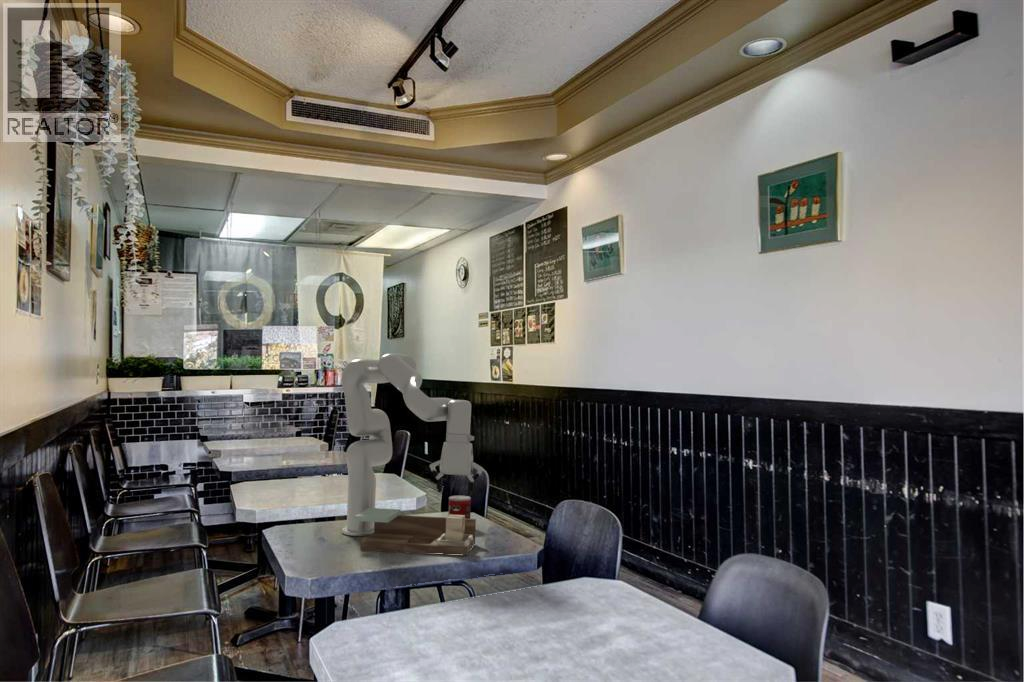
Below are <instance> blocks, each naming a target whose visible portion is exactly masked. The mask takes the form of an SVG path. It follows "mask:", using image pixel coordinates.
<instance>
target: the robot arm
mask: <svg viewBox="0 0 1024 682" xmlns="http://www.w3.org/2000/svg"><path fill="white" fill-rule="evenodd" d="M416 369H417V363H416V361H415V359H414V358H413V357H412V356H411V355H408V354H405V353H403V354H402V353H386V354H384V355H382V356H381V357H380V358H378V359H371V358H369V359H368V358H360V359H359V358H358V359H353V360H351V361H350V362H348V363H347V364H346V365H345V367H344V369H343V370H342V374H341V386H342V390H343V394H344V399H345V410H346V411H345V413H346V421H347V422H346V423H347V429H348V432H349V434H351V436H354V437H369V439H363V440H357V441H354V442H353V443H350V444H349V446H348V447H347V449H346V453H345V459H346V464H347V507H346V509H347V510H346V526H344V527H342V528H341V533H342V534H344V535H346V536H352V537H353V536H354V537H362V536H363V537H365V536H369V535H371V534H372V533H374V522H367V521H354V519H355V515H357V514H359V513H361V512H363V511H364V510H366V509H368V508H376V497H377V495H376V494H377V489H376V488H377V478H376V474H375V471H374V469H373V467H377V466H383V465H386V464H388V463H389V462H390V461H391V460H392V456H393V441H392V440H393V439H392V431H391V423H390V419H389V417H388V415H387V413H386V412H385V411H383V410H382V409H379V408H372V406H371V405H372V404H371V397H370V394H369V392H368V389H367V388H366V387H365V385H364V384H386V383H390V384H392V385H393V386H394V387H395V388H396V389H397V390H398V391H399V392H401V393H402V397H403V400H404V403H405V405H406V407H407V408H408V409H409V410H410V411H411V412H412V413H413V414H414V415H415V416H416V417H418V418H419V419H420V420H422V421H424V422H429V423H430V422H442V421H443V422H444V421H446V433H445V435H446V436H445V441H444V442H443V445H442V450H441V455H440V459H439V460H437V461H434V462H433V463H431V464H429V468H430V470H431V473H432V475H433V477H435V479H436V489H437V492H438V493H441V492H442V491H443V488H444V487H443V485H444V478H443V477H444V475H453V476H466V477H467V478H468V480H469V481H468V483H467V486H468V487H467V495H468V496H469V495H472V493H473V492H474V491H475V489H474V487H475V481H476V480H477V479H478V478H479V477H480V476H481V475H482V473H483V471H484V468H483V467H482V466H481V465H479V464H478V463H476V462H474V449H473V443H471V442H472V441H475V436H474V435H471V422H472V421H471V420H472V419H471V417H472V403H471V401H469V400H465V399H454V398H449V397H429V396H428V395H427V394H425V393H424V392H423V391H422V390H421V389H420V388H421V386H422V383H423V377H422V375H421V374H419V372H418V371H416ZM437 466H439V472H438V471H437V469H436V467H437ZM474 469H475V470H477V472H476V473H475V475H474V474H473V470H474Z"/></svg>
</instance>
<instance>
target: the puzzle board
mask: <svg viewBox="0 0 1024 682" xmlns="http://www.w3.org/2000/svg"><path fill="white" fill-rule="evenodd" d="M446 517H447V516H445V517H444V516H429V515H428V516H423V515H406V514H400V515H398V516H397V517H396V518H394V519H393V520H391V521H390V522H388V523H386V522H374V533H372V534H371V535H367V536H366V537H365V538H363V539H362V540H360V543H359V544H360V545H359V550H360V549H361V550H360V551H372V550H381V551H380V552H389V551H397V552H396V553H406V552H411V553H410V554H422V553H443V554H463V555H467V554H468V552H469V551H470V549H471V548H472V546H473V545H474V544H475V545H476V530H477V529H476V526H477V522H476V521H477V519H476V518H470V519H466V518H465V531H464V541H455V540H445V539H446ZM472 549H473V548H472ZM470 552H471V551H470ZM470 552H469V553H470ZM468 555H469V554H468ZM468 555H467V556H468Z"/></svg>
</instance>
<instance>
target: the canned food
mask: <svg viewBox="0 0 1024 682" xmlns="http://www.w3.org/2000/svg"><path fill="white" fill-rule="evenodd" d="M471 505H472V498H471V496H469V495H468V496H467V495H451V496H449V497H448V512H447V513H448V515H447V516H449V515H465V518H466V519H471V510H472V509H471V507H472V506H471Z"/></svg>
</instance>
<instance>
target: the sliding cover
mask: <svg viewBox="0 0 1024 682" xmlns="http://www.w3.org/2000/svg"><path fill="white" fill-rule="evenodd" d="M401 511H402V510H401V509H398V508H397V509H396V508H395V509H394V508H381V507H380V508H378V507H377V508H376V507H375V508H368V509H366V510H364V511H363V512H361V513H359V514H357V515H355V519H354V521H367V522H386V523H388V522H390V521H391V520H393V519H394V518H396V517H397V516H398V515H401V513H402V512H401Z"/></svg>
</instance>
